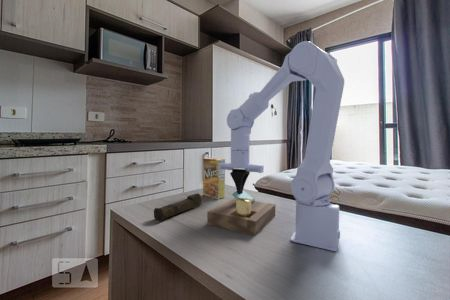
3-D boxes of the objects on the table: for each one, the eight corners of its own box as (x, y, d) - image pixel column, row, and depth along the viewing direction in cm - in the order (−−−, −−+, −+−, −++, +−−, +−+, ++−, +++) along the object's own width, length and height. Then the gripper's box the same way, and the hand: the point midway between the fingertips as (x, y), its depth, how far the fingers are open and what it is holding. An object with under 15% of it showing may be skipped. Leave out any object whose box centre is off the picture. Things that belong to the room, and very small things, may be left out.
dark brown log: (161, 223, 61) (161, 207, 61) (152, 220, 63) (152, 204, 63) (207, 207, 76) (207, 193, 76) (198, 204, 79) (198, 191, 78)
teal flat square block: (253, 202, 69) (255, 199, 69) (245, 207, 64) (247, 204, 64) (240, 191, 72) (241, 188, 71) (231, 195, 66) (233, 192, 66)
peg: (253, 224, 60) (253, 199, 60) (247, 230, 57) (247, 203, 56) (240, 222, 62) (240, 197, 62) (233, 226, 59) (233, 200, 58)
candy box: (202, 195, 90) (202, 158, 89) (209, 193, 93) (209, 157, 93) (218, 199, 84) (218, 159, 84) (225, 197, 88) (225, 158, 87)
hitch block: (275, 215, 67) (275, 204, 67) (255, 235, 53) (255, 221, 53) (234, 208, 74) (234, 197, 74) (207, 224, 60) (207, 211, 60)
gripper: (267, 150, 68) (266, 194, 68) (225, 149, 75) (225, 188, 75) (258, 151, 61) (258, 199, 62) (214, 150, 69) (214, 193, 69)
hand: (239, 194), depth 68 cm, fingers closed, pressing on teal flat square block
